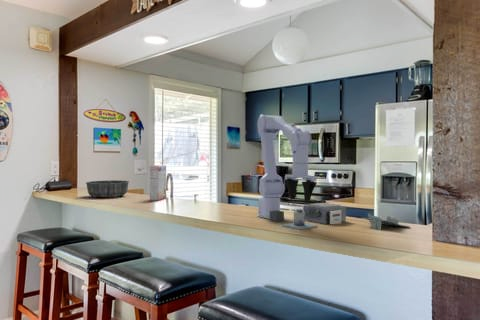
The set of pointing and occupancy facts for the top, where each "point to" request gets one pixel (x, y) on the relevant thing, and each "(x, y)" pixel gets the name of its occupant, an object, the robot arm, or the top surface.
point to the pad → (300, 226)
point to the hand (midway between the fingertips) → (299, 199)
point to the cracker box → (157, 182)
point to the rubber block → (276, 216)
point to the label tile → (335, 217)
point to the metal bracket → (382, 222)
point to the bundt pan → (107, 188)
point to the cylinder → (299, 218)
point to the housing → (322, 212)
